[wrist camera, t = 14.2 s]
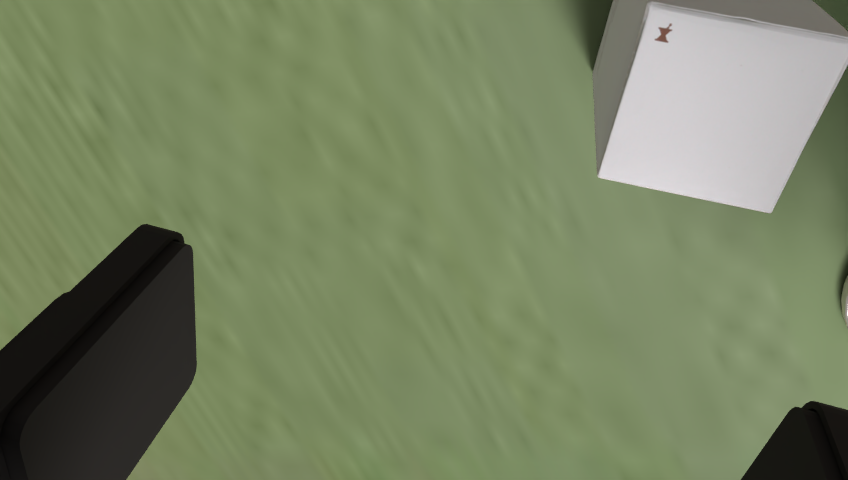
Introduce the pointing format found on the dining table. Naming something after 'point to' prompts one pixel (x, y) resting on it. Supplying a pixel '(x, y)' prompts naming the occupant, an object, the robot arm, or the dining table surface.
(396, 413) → the dining table surface
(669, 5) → the supplement box
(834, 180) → the dining table surface
